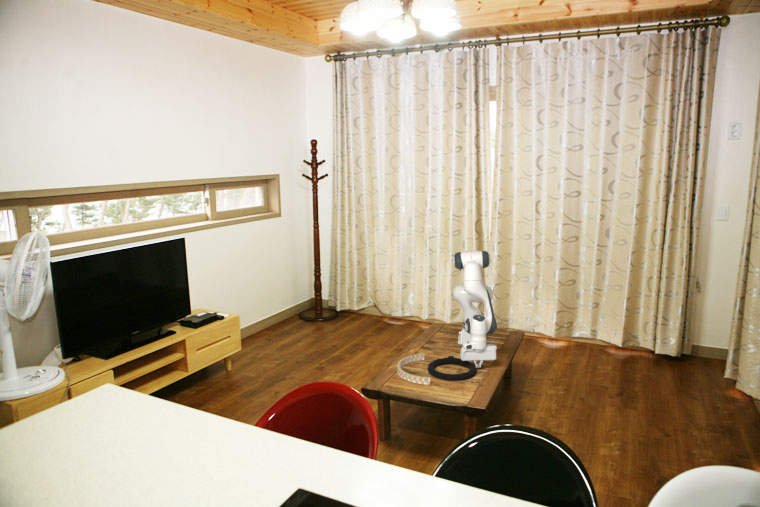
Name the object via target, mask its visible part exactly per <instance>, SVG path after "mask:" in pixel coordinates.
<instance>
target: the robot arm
mask: <svg viewBox="0 0 760 507" xmlns="http://www.w3.org/2000/svg"><path fill="white" fill-rule="evenodd" d="M491 259H492V258H491V254H490V253H489V252H488V250H469V251H468V250H467V251H458V252H455V253H454V255H453V257H452V263H453V266H454V268H456V269H457V270H458V271H460V272H462V284H460V285H459V284H458V285H455V287H453V290H452V297H453V298H454V300H455V301H457V303H459V305H460V306H461V308H462V311H463V322H462V328H461V331H458V338H457V344H458V345H461V346H462V347H461V348H460V353H459V359H461V360H462V361H469V362H470V361H472V362H474V363H473V364H474V366H475V367H476V369H478V368H481V367H482V364H483V363H484V361H495V360H497V349H498V348H497V345H496V344H494V343H487V335H493V334H495V333H496V331H497V329H498V324H497V323H498V322H497V320H496V316H495V312H494V308H493V303H492V300H493V298H494V291H493V289H492V288H491V287H490V286H488V285H487V284H486V283H485V282H484V280H483V274H482V269H486V268H488V267H490V263H491ZM473 303H476V304H477V303H479V304H480V303H481V304H483V307H484V311H485V316H484V315H482V311H481V310H480V308H478V307H477V306H475V305H474V304H473ZM478 361H479V363H477V362H478Z"/></svg>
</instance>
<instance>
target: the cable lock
mask: <svg viewBox="0 0 760 507" xmlns="http://www.w3.org/2000/svg"><path fill="white" fill-rule="evenodd" d="M441 365H458V366H463V367H466V368H467V369H469V370H468V371H466V372H462V373H444V372H442V371H438V370H436V369H435V368H436V367H439V366H441ZM426 369H427V371H428V373H429V374H430V375H431V376H433V377H435V378H437V379H439V380H444V381H449V382H450V381H454V382H455V381H464V380H465V381H466V380H468V379H470V378H473V377H474V376H475V375H476V373H477V368H476V367H475V363H472V362H470V361H462V360H461V358H458V357H455V356H453V355H448V356H446V357H443V358H442V357H441V358H438V359H434V360H432V361H431V362H429V364H428V365H427V368H426Z"/></svg>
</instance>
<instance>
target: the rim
mask: <svg viewBox="0 0 760 507" xmlns="http://www.w3.org/2000/svg"><path fill="white" fill-rule="evenodd" d="M417 361H418V362H419V361H425V353H417V354H412V355H407V356H405V357H403V358H401V359H400V360H398V362H397V363H396V364H397V365H396V373H397V375H398V376H399V377H400V378H401V379H404V380H405V381H408V382H411V383H414V384H419V385H427V386H428V385H431V377H430V376H429V377H428V376H419V375H414V374H410V373H409V372H406V371H404V370H403V369H402V367H403V366H405V365H407V364H409V363H413V362H417Z"/></svg>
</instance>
